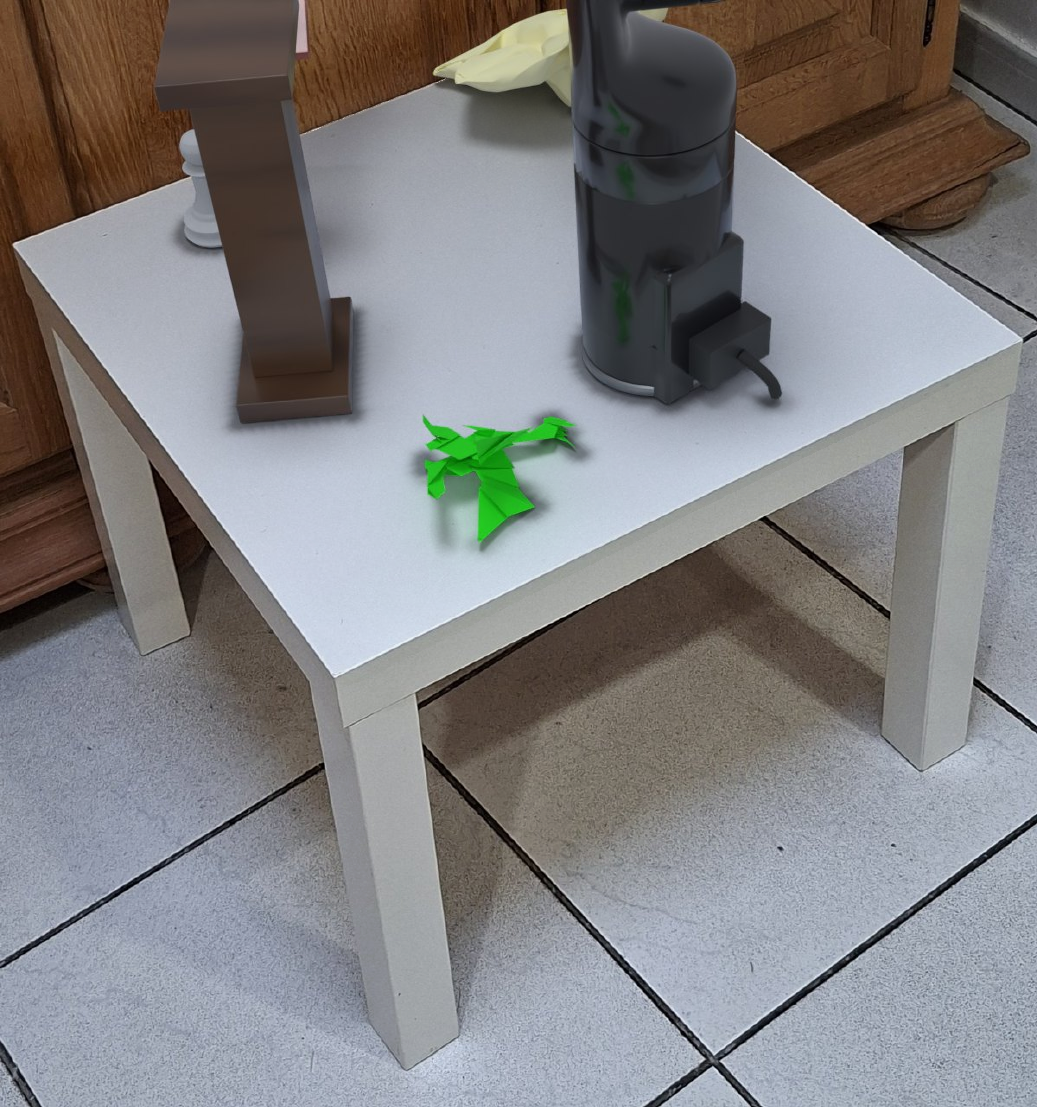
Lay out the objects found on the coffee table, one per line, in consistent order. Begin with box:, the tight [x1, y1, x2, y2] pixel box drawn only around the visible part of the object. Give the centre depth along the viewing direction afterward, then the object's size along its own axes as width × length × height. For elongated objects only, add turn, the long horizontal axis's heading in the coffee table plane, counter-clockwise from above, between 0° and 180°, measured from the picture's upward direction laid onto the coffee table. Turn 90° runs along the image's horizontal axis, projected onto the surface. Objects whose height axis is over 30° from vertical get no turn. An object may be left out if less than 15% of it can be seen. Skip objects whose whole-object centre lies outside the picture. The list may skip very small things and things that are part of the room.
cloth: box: [432, 8, 669, 108], centre depth 123 cm, size 22×19×6 cm
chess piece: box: [178, 128, 223, 249], centre depth 113 cm, size 5×5×8 cm
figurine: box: [422, 414, 578, 543], centre depth 95 cm, size 6×12×9 cm
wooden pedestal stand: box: [153, 0, 355, 424], centre depth 97 cm, size 10×7×24 cm
